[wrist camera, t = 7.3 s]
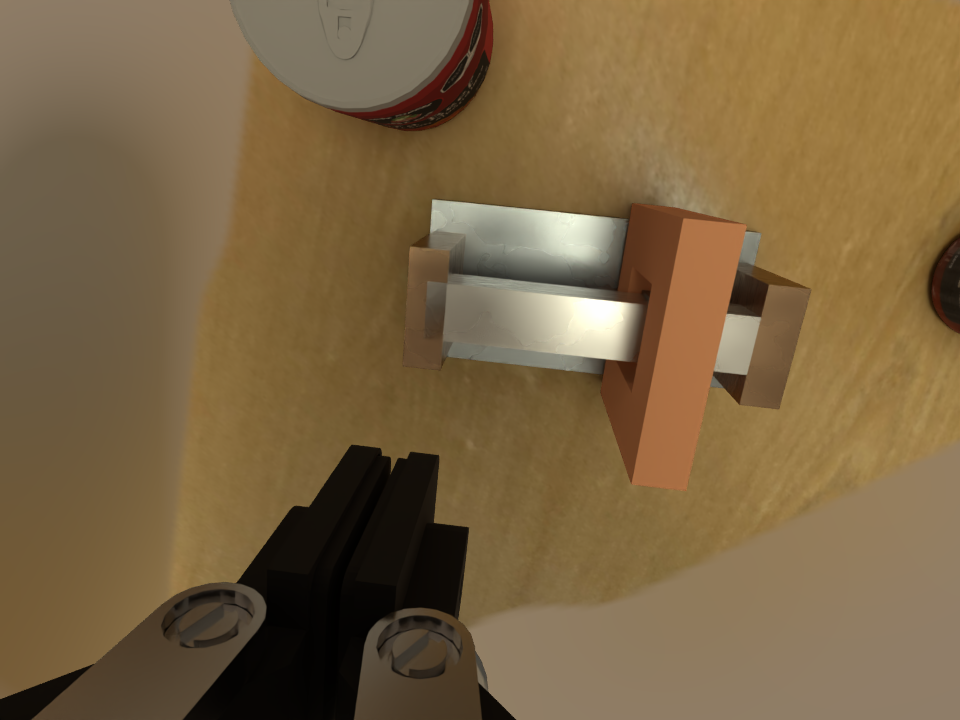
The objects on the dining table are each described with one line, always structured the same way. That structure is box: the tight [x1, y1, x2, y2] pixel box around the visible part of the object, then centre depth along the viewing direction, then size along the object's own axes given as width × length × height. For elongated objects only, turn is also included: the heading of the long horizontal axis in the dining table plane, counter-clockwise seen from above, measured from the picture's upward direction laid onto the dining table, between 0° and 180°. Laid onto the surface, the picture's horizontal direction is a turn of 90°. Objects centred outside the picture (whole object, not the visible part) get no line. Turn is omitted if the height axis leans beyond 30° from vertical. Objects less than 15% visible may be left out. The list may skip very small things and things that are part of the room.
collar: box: [600, 203, 747, 491], centre depth 25 cm, size 2×10×10 cm, turn 174°
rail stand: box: [403, 199, 811, 409], centre depth 27 cm, size 16×8×7 cm, turn 85°
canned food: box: [230, 0, 493, 131], centre depth 23 cm, size 8×8×11 cm
